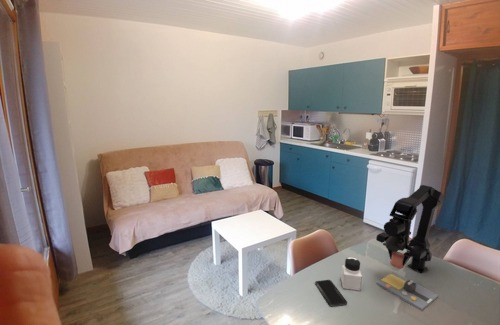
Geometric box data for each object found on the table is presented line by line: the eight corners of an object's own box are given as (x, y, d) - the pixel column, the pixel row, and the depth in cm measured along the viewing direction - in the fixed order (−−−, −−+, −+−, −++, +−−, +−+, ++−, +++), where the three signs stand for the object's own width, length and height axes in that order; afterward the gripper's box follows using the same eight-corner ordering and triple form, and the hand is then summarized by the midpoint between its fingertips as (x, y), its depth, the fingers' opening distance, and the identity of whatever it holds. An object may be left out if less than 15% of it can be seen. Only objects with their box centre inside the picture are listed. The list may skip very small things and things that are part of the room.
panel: (392, 273, 127) (393, 270, 126) (438, 297, 111) (438, 293, 111) (375, 283, 119) (376, 280, 119) (421, 311, 104) (422, 307, 103)
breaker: (408, 286, 116) (409, 278, 115) (415, 290, 114) (416, 282, 113) (403, 289, 114) (404, 281, 113) (411, 293, 112) (412, 285, 111)
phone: (330, 305, 105) (314, 281, 119) (330, 308, 105) (314, 283, 119) (348, 303, 106) (330, 279, 121) (348, 305, 106) (330, 281, 121)
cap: (394, 260, 121) (395, 250, 120) (406, 266, 117) (408, 255, 116) (387, 263, 118) (389, 253, 117) (399, 270, 114) (401, 259, 113)
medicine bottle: (360, 291, 114) (363, 265, 112) (342, 288, 116) (345, 263, 113) (357, 280, 121) (359, 256, 119) (340, 278, 123) (343, 254, 120)
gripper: (370, 225, 117) (367, 257, 120) (416, 244, 102) (410, 280, 105) (385, 219, 123) (381, 250, 126) (429, 236, 108) (423, 271, 111)
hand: (397, 262), depth 117 cm, fingers closed on cap, 5 cm apart
